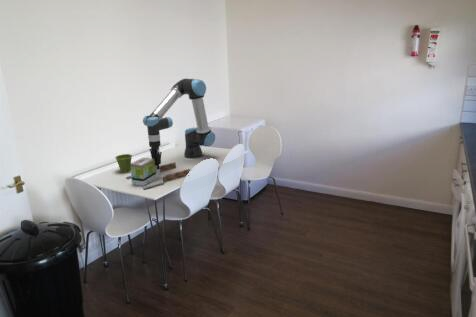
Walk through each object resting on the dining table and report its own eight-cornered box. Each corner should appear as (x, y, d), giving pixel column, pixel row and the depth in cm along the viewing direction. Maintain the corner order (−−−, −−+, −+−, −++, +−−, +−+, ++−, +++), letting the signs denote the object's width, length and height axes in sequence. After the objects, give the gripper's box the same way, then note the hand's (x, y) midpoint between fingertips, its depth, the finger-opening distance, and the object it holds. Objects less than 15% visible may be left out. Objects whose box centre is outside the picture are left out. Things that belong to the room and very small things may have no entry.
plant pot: (124, 167, 267) (122, 153, 263) (137, 169, 262) (135, 155, 259) (113, 172, 256) (111, 158, 253) (126, 174, 252) (124, 159, 248)
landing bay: (144, 173, 253) (144, 172, 253) (164, 184, 233) (163, 183, 233) (126, 178, 245) (126, 177, 244) (144, 190, 224) (144, 188, 224)
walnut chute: (174, 167, 265) (174, 162, 264) (190, 174, 249) (190, 169, 248) (149, 173, 252) (148, 168, 251) (164, 182, 236) (164, 176, 235)
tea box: (144, 186, 230) (142, 165, 226) (131, 184, 233) (129, 163, 229) (157, 178, 244) (155, 158, 239) (144, 176, 247) (142, 156, 242)
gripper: (144, 139, 239) (148, 172, 246) (154, 143, 230) (157, 177, 237) (154, 137, 244) (157, 169, 251) (164, 141, 234) (167, 174, 242)
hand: (157, 173), depth 244 cm, fingers closed
